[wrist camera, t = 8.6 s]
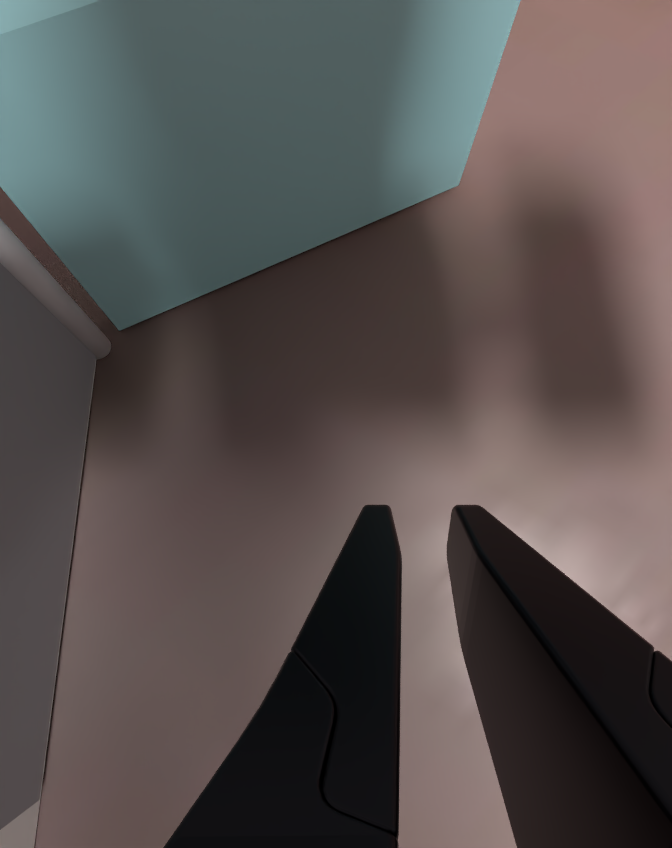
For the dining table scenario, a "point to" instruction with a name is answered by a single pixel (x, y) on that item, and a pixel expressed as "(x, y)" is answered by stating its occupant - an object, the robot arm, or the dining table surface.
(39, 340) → the case
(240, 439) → the dining table surface
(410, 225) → the dining table surface
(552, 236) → the dining table surface
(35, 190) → the hatch
